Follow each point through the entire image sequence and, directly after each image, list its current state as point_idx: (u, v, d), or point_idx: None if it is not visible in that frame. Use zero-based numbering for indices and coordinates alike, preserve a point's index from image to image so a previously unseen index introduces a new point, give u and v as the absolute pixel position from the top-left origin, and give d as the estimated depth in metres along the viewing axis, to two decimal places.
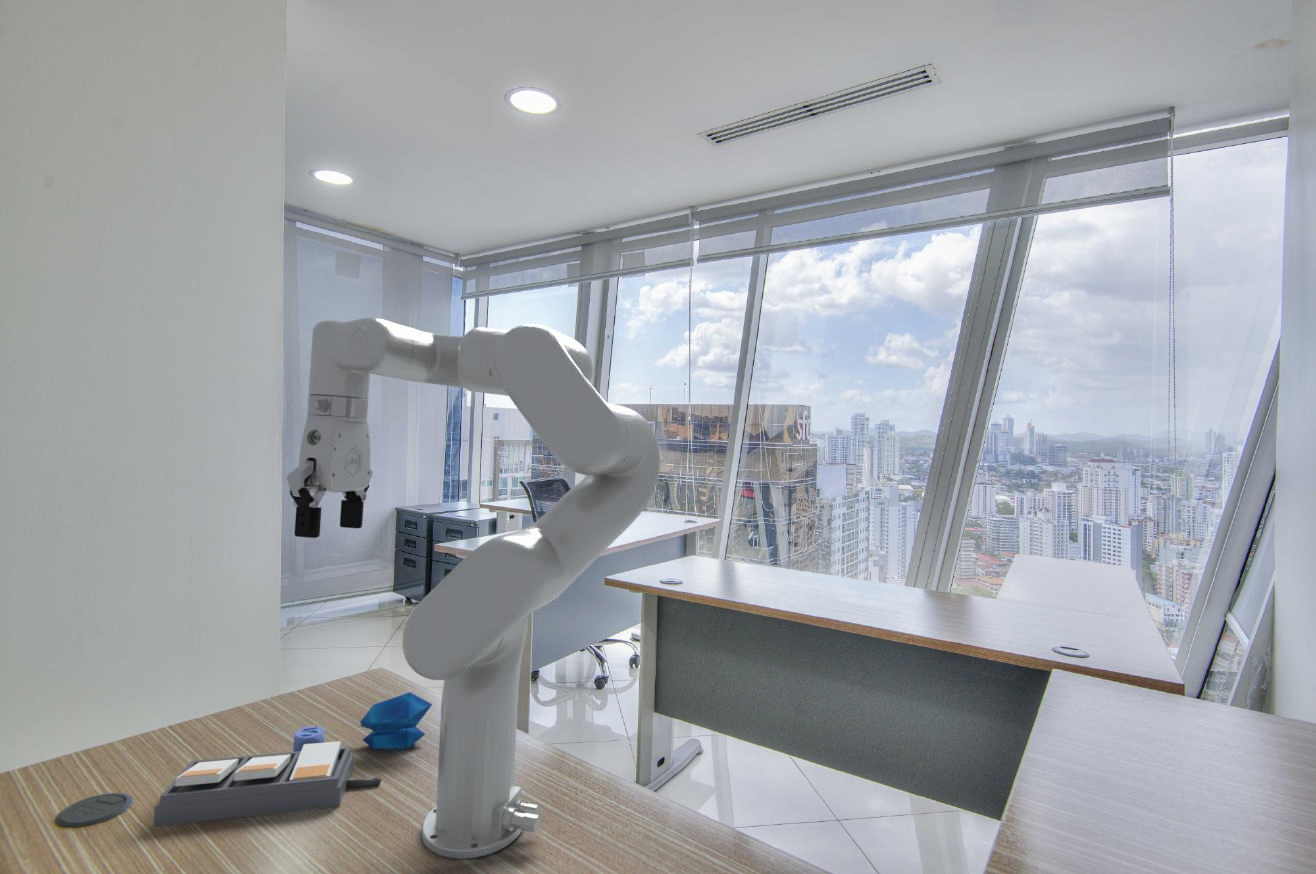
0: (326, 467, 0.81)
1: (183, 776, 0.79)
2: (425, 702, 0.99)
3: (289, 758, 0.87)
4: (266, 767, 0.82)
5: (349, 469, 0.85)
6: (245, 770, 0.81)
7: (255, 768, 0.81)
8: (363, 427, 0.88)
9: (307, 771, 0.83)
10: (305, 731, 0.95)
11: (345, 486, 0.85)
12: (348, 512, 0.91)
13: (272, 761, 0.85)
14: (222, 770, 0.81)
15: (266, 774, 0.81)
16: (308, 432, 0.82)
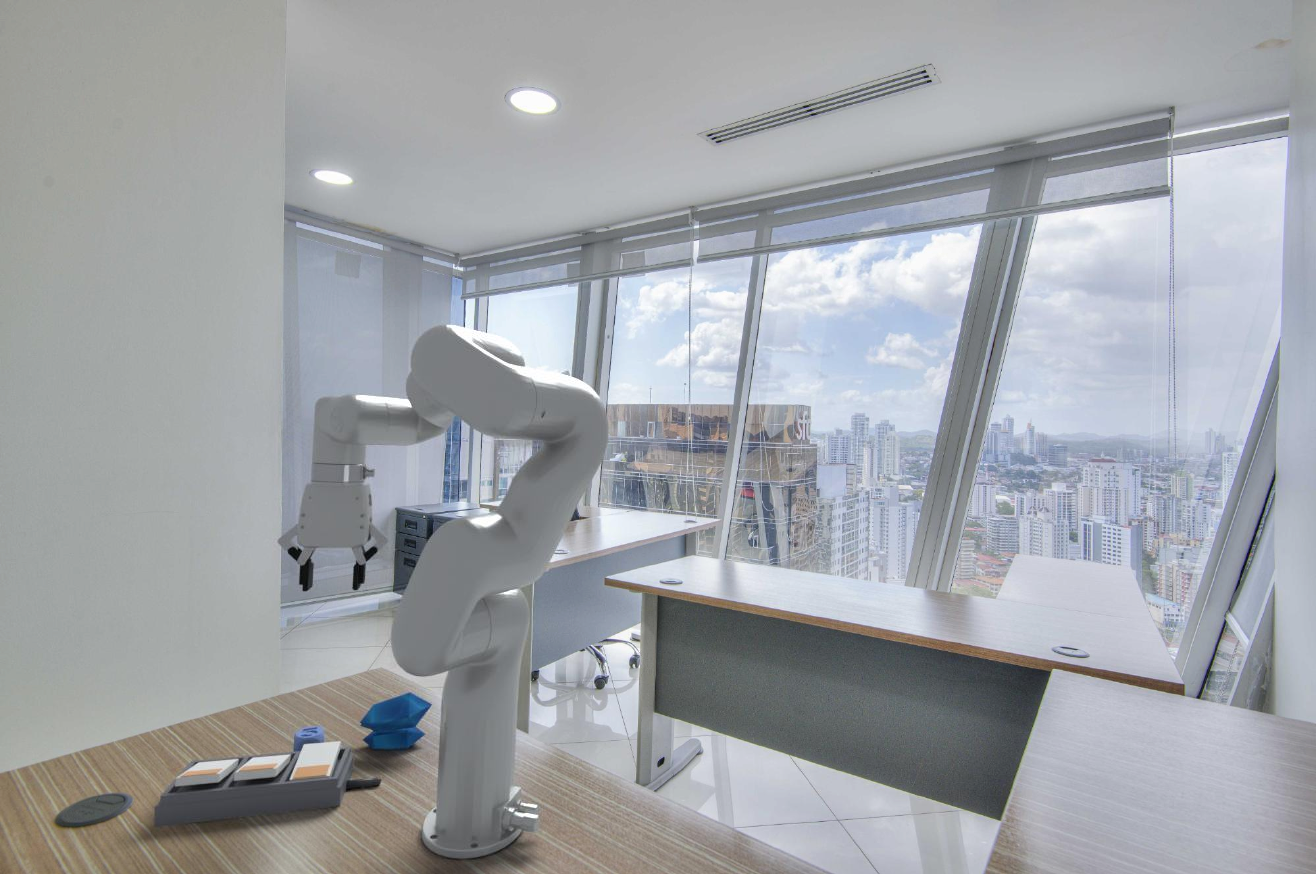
0: None
1: (183, 776, 0.79)
2: (425, 702, 0.99)
3: (289, 758, 0.87)
4: (266, 767, 0.82)
5: None
6: (245, 770, 0.81)
7: (255, 768, 0.81)
8: None
9: (307, 771, 0.83)
10: (305, 731, 0.95)
11: None
12: (310, 575, 0.96)
13: (272, 761, 0.85)
14: (222, 770, 0.81)
15: (266, 774, 0.81)
16: (367, 496, 0.97)
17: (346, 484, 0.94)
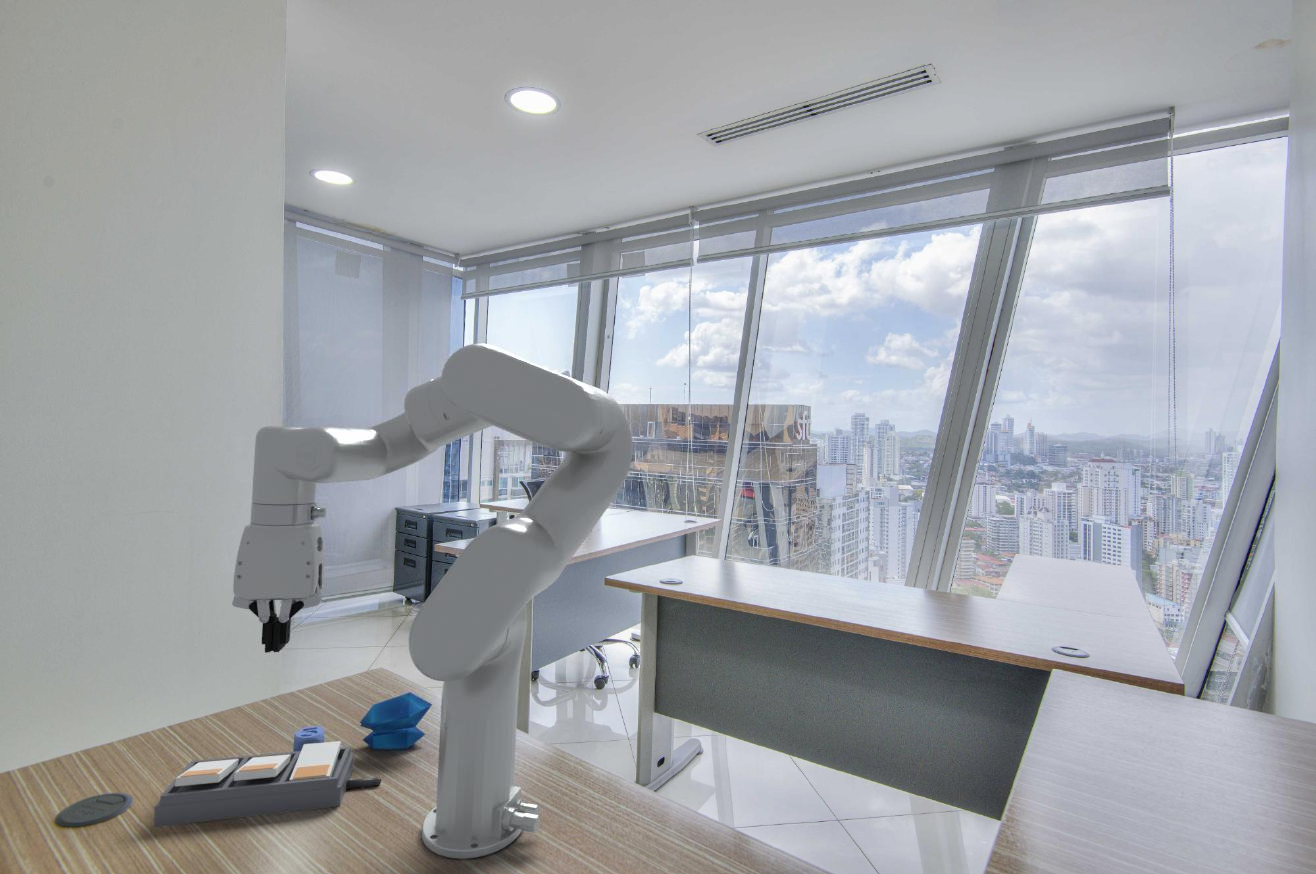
0: (323, 568, 0.88)
1: (183, 776, 0.79)
2: (425, 702, 0.99)
3: (289, 758, 0.87)
4: (266, 767, 0.82)
5: None
6: (245, 770, 0.81)
7: (255, 768, 0.81)
8: None
9: (307, 771, 0.83)
10: (305, 731, 0.95)
11: None
12: None
13: (272, 761, 0.85)
14: (222, 770, 0.81)
15: (266, 774, 0.81)
16: (316, 540, 0.85)
17: (289, 527, 0.82)
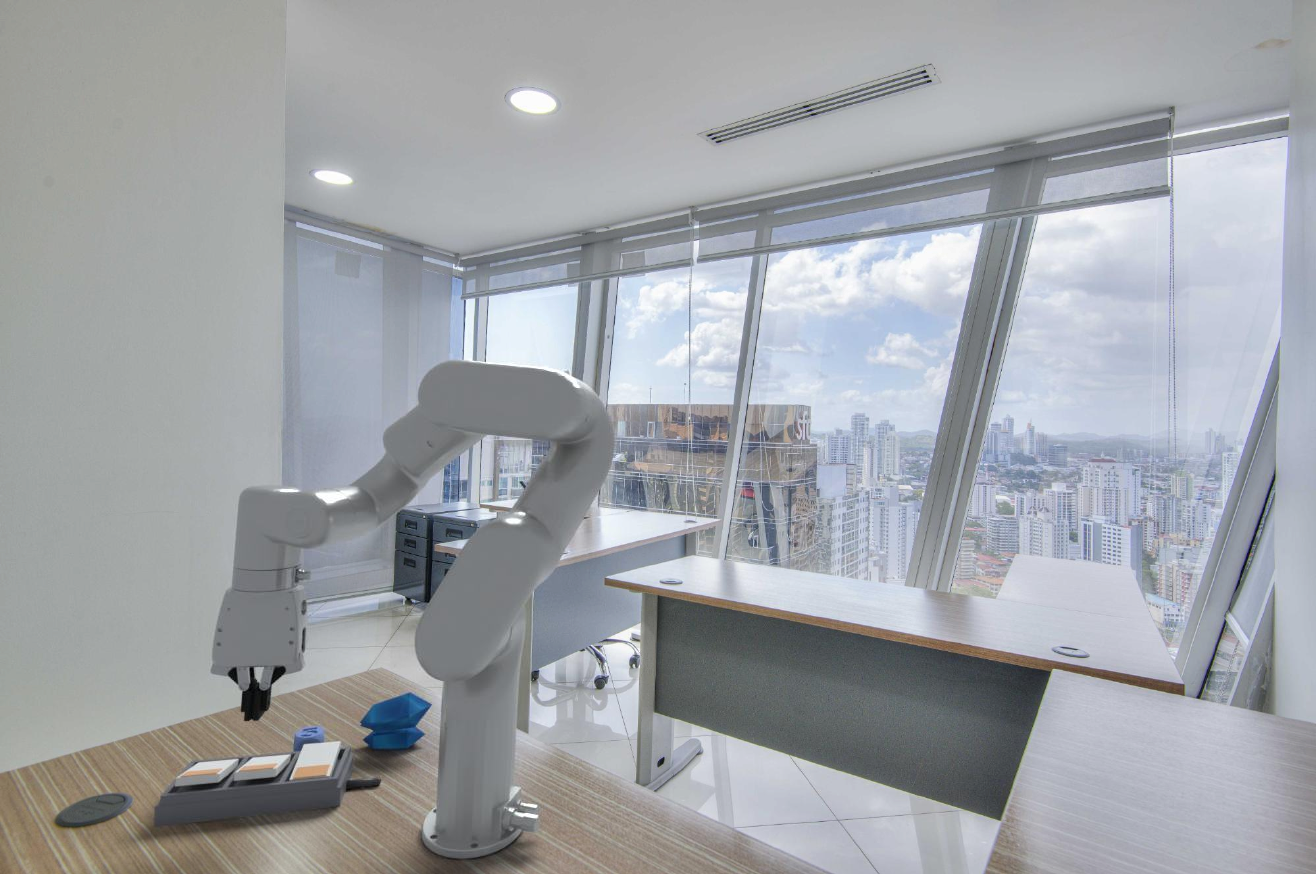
0: None
1: (183, 776, 0.79)
2: (425, 702, 0.99)
3: (289, 758, 0.87)
4: (266, 767, 0.82)
5: None
6: (245, 770, 0.81)
7: (255, 768, 0.81)
8: None
9: (307, 771, 0.83)
10: (305, 731, 0.95)
11: None
12: None
13: (272, 761, 0.85)
14: (222, 770, 0.81)
15: (266, 774, 0.81)
16: (300, 604, 0.82)
17: (273, 593, 0.79)
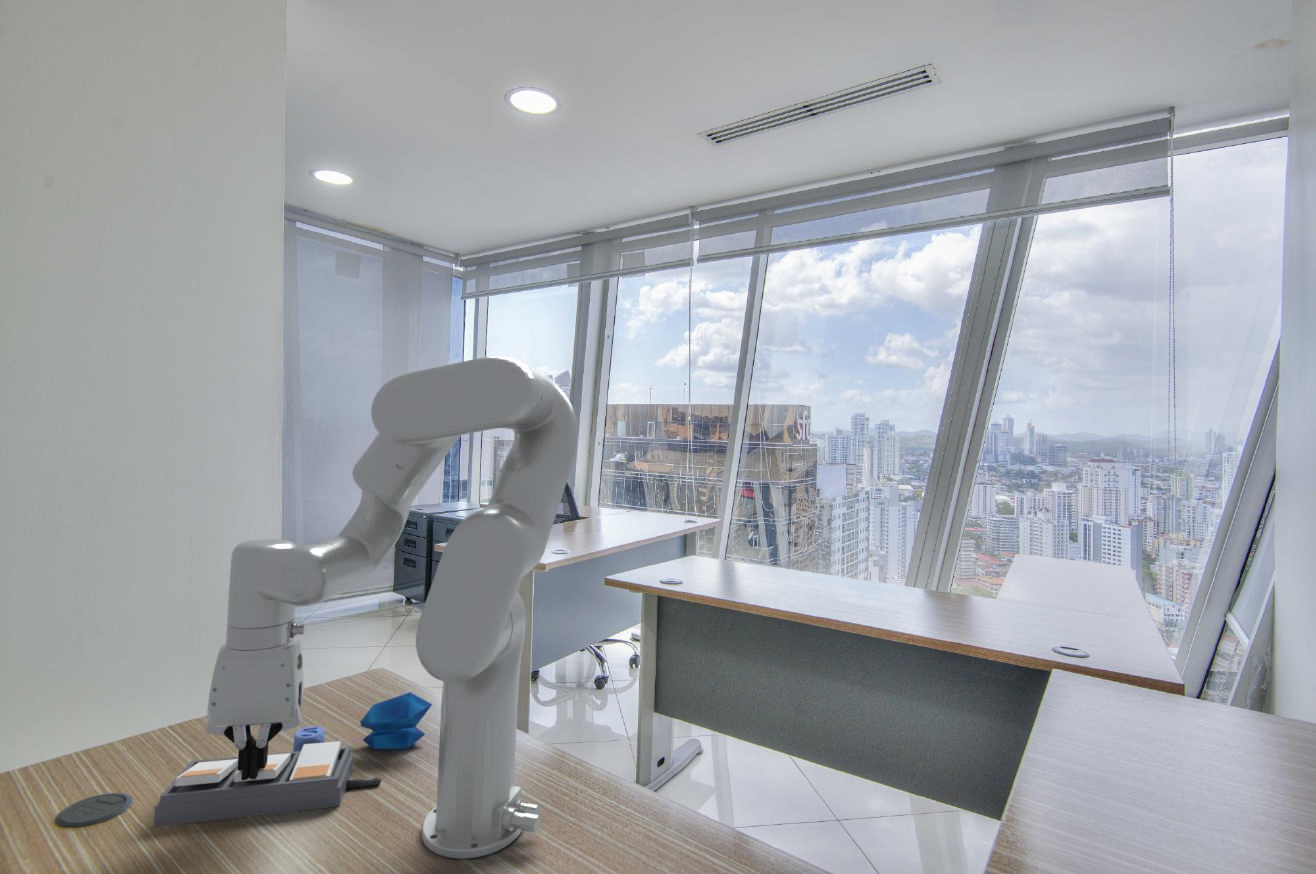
0: None
1: (183, 776, 0.79)
2: (425, 702, 0.99)
3: (289, 757, 0.87)
4: (266, 768, 0.82)
5: None
6: None
7: None
8: None
9: (307, 771, 0.83)
10: (305, 731, 0.95)
11: None
12: None
13: (272, 761, 0.85)
14: (222, 770, 0.81)
15: (266, 775, 0.81)
16: (296, 659, 0.82)
17: (268, 651, 0.79)
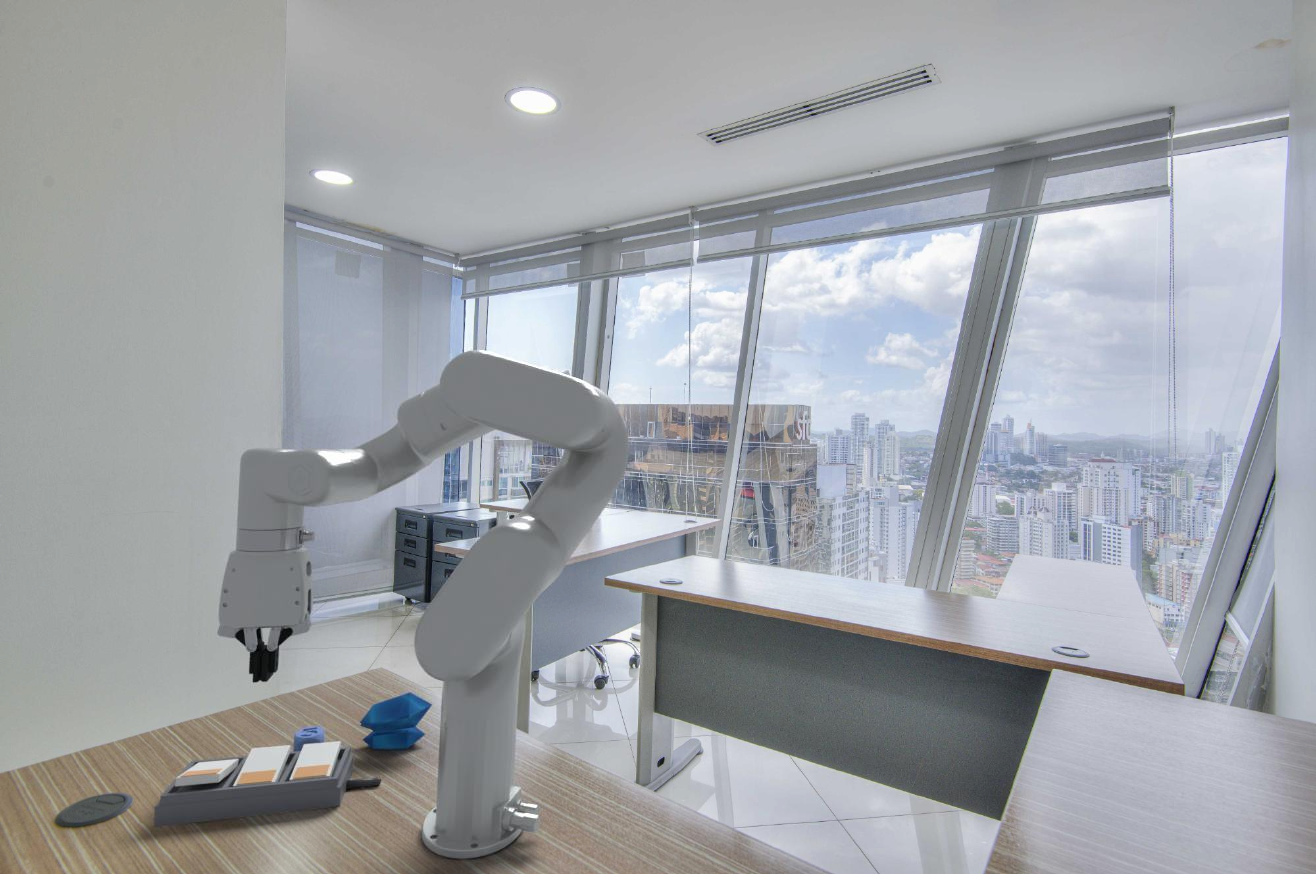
0: (312, 593, 0.85)
1: (183, 776, 0.79)
2: (425, 702, 0.99)
3: (289, 750, 0.87)
4: (264, 779, 0.81)
5: None
6: (243, 783, 0.80)
7: (253, 780, 0.81)
8: None
9: (307, 771, 0.83)
10: (305, 731, 0.95)
11: None
12: None
13: (271, 762, 0.84)
14: (222, 770, 0.81)
15: None
16: (305, 565, 0.82)
17: (277, 553, 0.80)
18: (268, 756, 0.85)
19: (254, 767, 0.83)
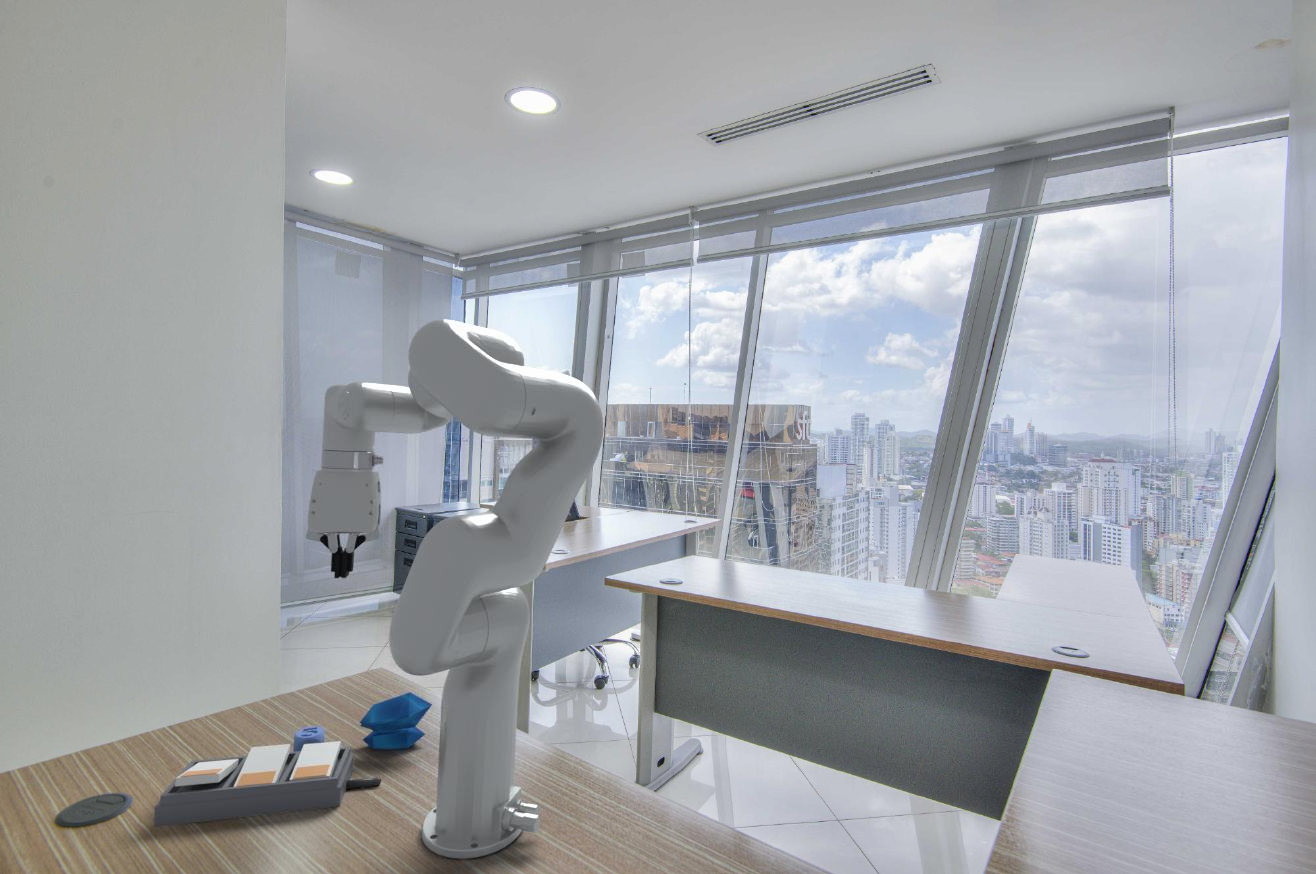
0: None
1: (183, 776, 0.79)
2: (425, 702, 0.99)
3: (289, 749, 0.87)
4: (264, 781, 0.81)
5: None
6: (243, 785, 0.80)
7: (253, 782, 0.81)
8: None
9: (307, 771, 0.83)
10: (305, 731, 0.95)
11: None
12: None
13: (271, 762, 0.84)
14: (222, 770, 0.81)
15: None
16: (376, 483, 0.99)
17: (356, 471, 0.96)
18: (268, 756, 0.85)
19: (254, 768, 0.83)
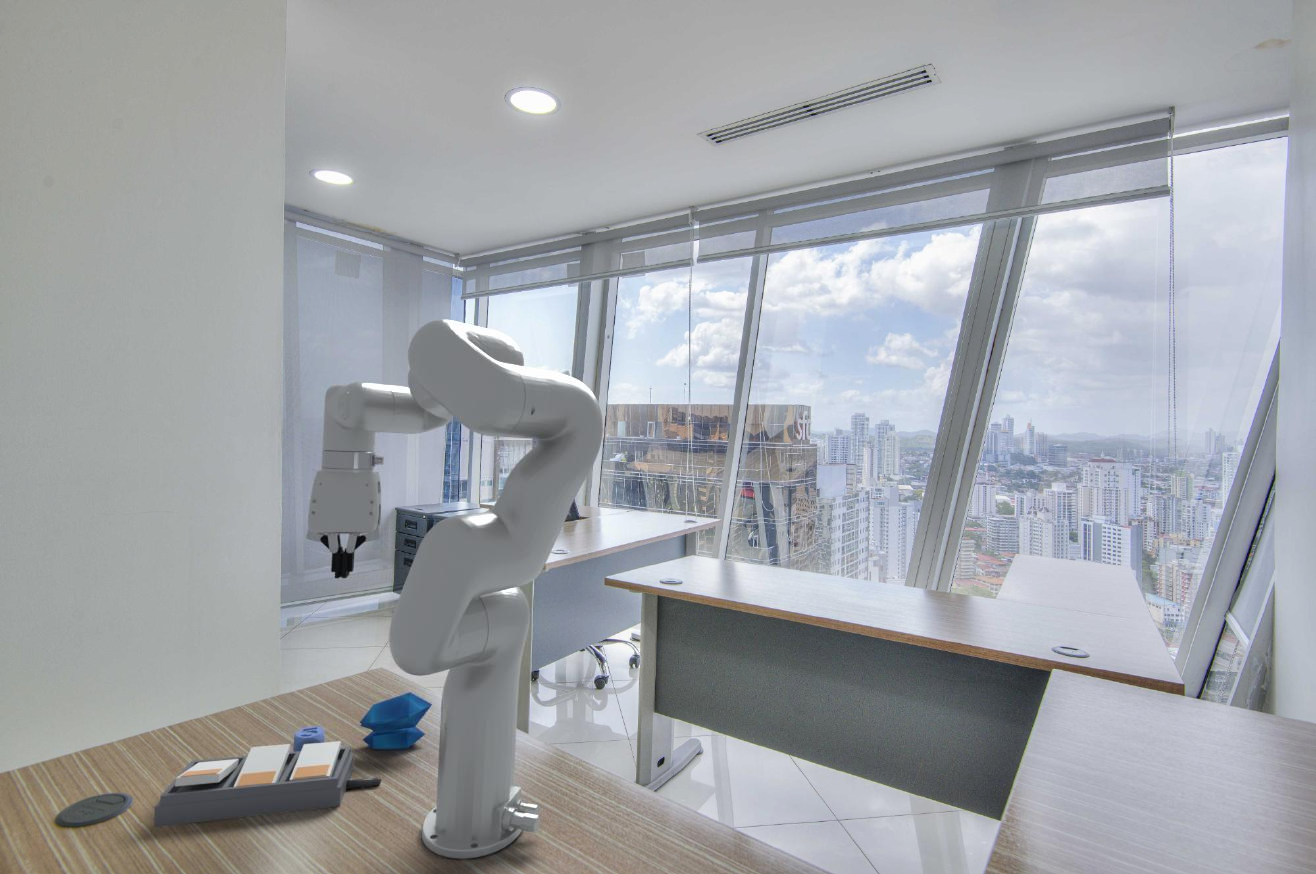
0: None
1: (183, 776, 0.79)
2: (425, 702, 0.99)
3: (289, 749, 0.87)
4: (264, 781, 0.81)
5: None
6: (243, 785, 0.80)
7: (253, 782, 0.81)
8: None
9: (307, 771, 0.83)
10: (305, 731, 0.95)
11: None
12: None
13: (271, 762, 0.84)
14: (222, 770, 0.81)
15: None
16: (377, 483, 0.99)
17: (356, 471, 0.96)
18: (268, 756, 0.85)
19: (254, 768, 0.83)
